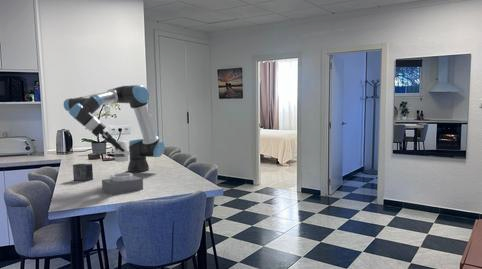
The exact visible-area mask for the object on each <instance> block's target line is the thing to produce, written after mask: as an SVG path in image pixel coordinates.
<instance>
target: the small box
mask: <svg viewBox="0 0 482 269" xmlns="http://www.w3.org/2000/svg"><path fill="white" fill-rule="evenodd" d="M93 171H94V170H93V164H92V163H76V164H72V173H73V181H74V182H88V181H92V180H94V173H93Z"/></svg>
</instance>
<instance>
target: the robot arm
mask: <svg viewBox="0 0 482 269" xmlns="http://www.w3.org/2000/svg"><path fill="white" fill-rule="evenodd" d="M149 100H150V93H149V91H148V89H147V87H145V86H144V85H140V84H135V85H122V86H121V85H120V86H118V87H113V88H111V89H107V91H104V92H98V93H94V94H89V95H85V96H80V97H74V98H72V97H71V98H66V99H64V101H63V109H64V110H65V111H67V112H68V114H69V116H71V117H73V119H74V120H76V121H77V122H78V123H80V124H81V125H82V126H83V127H84V129H85V130H88V131H89V132H91V134H93V135H94V136H95V137H98V136H99V135H101V138H102V139H104V140H105V141H107V142H108V143H110V144H111V145H112V147H115V148H116V150H117V149H118V150H119V151H120V152H121V153H123V154H124V155H125V156H126V157H127V156H128V157H129V161H128V166H127V173H141V172H142V173H143V172H147V171H149V170H150V166H149V163H148V161H147V157H148V158H150V157H151V158H160V157H161V156H163V154H164V152H165V142H164V141H162V140H160V138H159V136H158V135H156V133H155V129H154V127H153V123H152V120H151V117H150V113H149V109H148V107H147V105H148V101H149ZM108 104H112V105H113V104H114V105H115V104H129V107H130V108H131V109H133V110H134V111H133V112H134V114H135V117H136V121H137V122H138V127H139V129H140V133H141V135H142V138H138V139H132V140H129V142H128V151H127V150H126V149H125V148H123V147H122V146H120V145H119V144H118V143H117V142H116V141H117V140H116V139H115V138H114V137H113V136H112V135H111V133H109V131H105V129H106V127H107V126H106V125H105V124H104V123H103V122H101V121H100V120H99V119H98V118H97V117H96V116H95V115H93V114H94V113H95V112H97V110H98V109H100V108H101V106H104V105H108ZM115 148H114V149H115Z"/></svg>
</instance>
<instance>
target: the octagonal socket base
mask: <svg viewBox="0 0 482 269" xmlns="http://www.w3.org/2000/svg"><path fill="white" fill-rule="evenodd" d="M143 181H144V180H143V178H142V177H139V176H137V175H134V173H132V172H120V173H114V174H112V175H111V176H110V178H105V179H101V185H102V186H101V187H102V188H101V189H102V191H103V192H105V193H107V194H109V195H112V196H113V195H118V194H123V193H128V192H133V191H139V190H144V182H143Z"/></svg>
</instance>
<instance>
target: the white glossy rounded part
mask: <svg viewBox="0 0 482 269" xmlns="http://www.w3.org/2000/svg"><path fill="white" fill-rule="evenodd" d="M116 142H117V143H118V144H119V145H120V146H122V147H123V148H125V149H126V150H127V151H129V143H128V141H127V140H116ZM113 147H114V146H113ZM114 162H117V163H119V162H120V163H123V162H129V155H128V156H127V157H126V156H125V155H124V154H123V153H121V152H120V151H119V150H118V149H117V150H116V148H115V147H114Z"/></svg>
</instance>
